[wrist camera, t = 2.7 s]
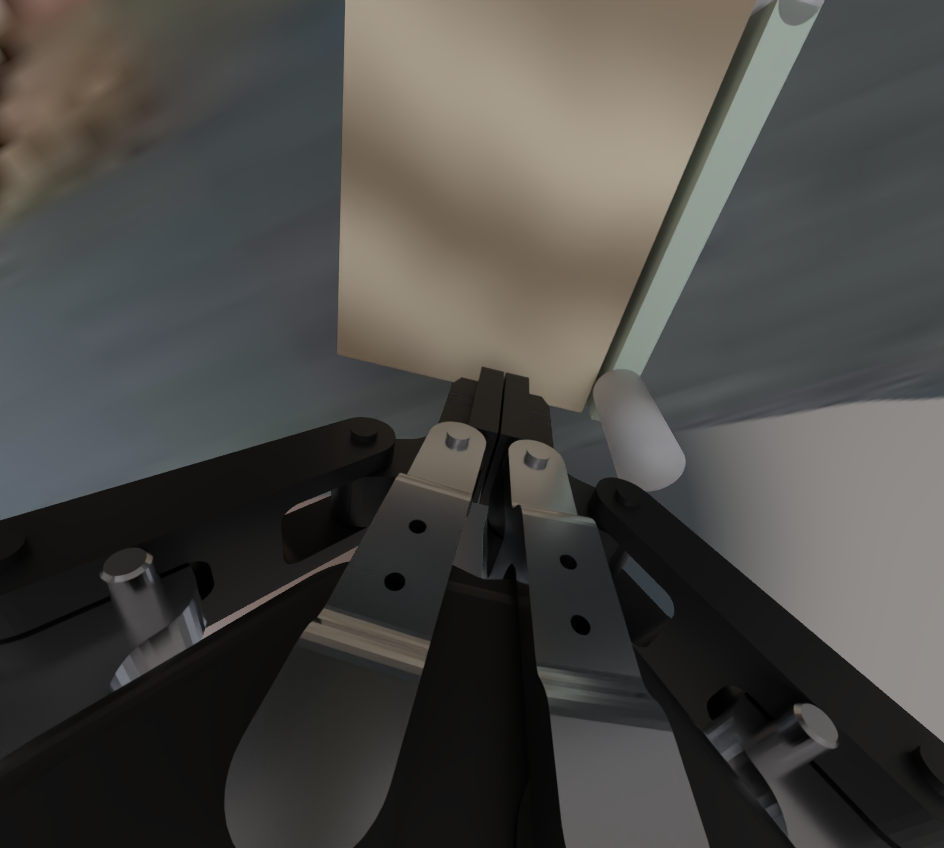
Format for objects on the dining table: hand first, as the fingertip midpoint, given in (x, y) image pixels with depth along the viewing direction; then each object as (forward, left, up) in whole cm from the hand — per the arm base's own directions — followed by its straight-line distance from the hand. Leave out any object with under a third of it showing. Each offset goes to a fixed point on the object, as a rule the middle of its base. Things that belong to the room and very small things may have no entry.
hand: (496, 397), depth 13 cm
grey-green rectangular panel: (-5, +4, -14) cm, 15 cm away
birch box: (-5, -1, -14) cm, 15 cm away
